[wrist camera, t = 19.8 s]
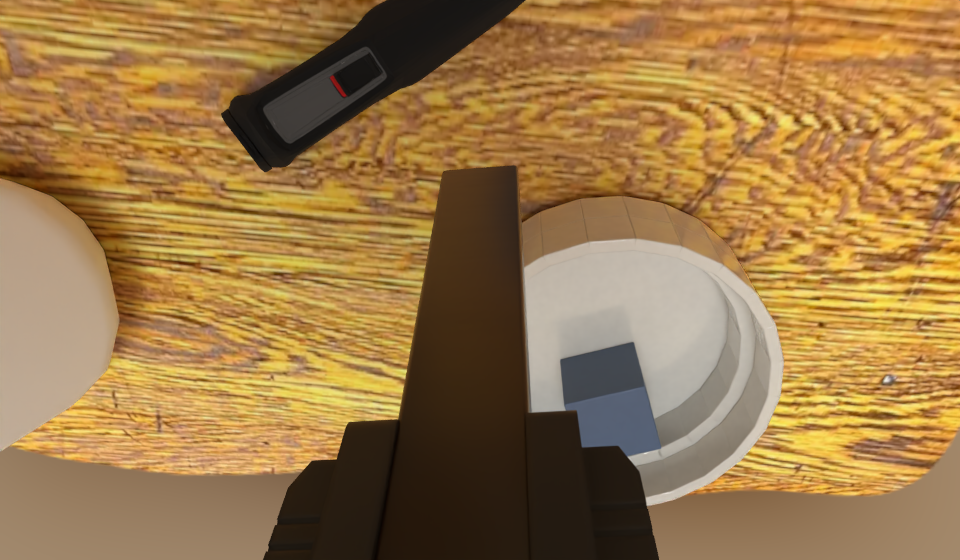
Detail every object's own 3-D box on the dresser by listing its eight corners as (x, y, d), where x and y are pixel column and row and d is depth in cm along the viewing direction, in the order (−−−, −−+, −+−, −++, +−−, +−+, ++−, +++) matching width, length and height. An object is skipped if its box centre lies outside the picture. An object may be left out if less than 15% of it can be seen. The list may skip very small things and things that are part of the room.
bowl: (474, 446, 45) (469, 516, 40) (443, 203, 38) (432, 252, 33) (741, 433, 44) (769, 503, 39) (760, 180, 37) (798, 227, 32)
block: (578, 417, 43) (583, 466, 39) (559, 359, 41) (563, 405, 37) (649, 400, 42) (662, 449, 38) (633, 341, 40) (645, 386, 37)
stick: (450, 237, 19) (360, 919, 7) (442, 169, 18) (324, 816, 6) (522, 232, 19) (558, 918, 7) (517, 164, 18) (547, 812, 6)
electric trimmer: (552, 0, 33) (556, 10, 31) (270, 172, 37) (250, 195, 35) (508, -83, 32) (508, -80, 29) (220, 105, 36) (195, 124, 33)
